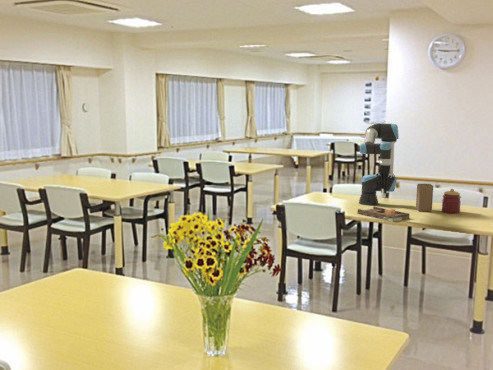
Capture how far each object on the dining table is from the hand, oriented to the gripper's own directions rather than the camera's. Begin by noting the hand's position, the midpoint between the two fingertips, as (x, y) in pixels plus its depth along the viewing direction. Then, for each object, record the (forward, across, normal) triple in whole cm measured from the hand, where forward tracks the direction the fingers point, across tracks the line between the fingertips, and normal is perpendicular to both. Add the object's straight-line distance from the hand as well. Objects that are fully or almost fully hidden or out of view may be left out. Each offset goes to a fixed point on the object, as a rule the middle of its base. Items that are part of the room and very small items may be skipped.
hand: (383, 197), depth 374 cm
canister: (+15, +16, +58) cm, 62 cm away
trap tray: (+14, -3, +4) cm, 15 cm away
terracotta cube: (+12, +7, -1) cm, 14 cm away
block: (+15, +1, +46) cm, 48 cm away
